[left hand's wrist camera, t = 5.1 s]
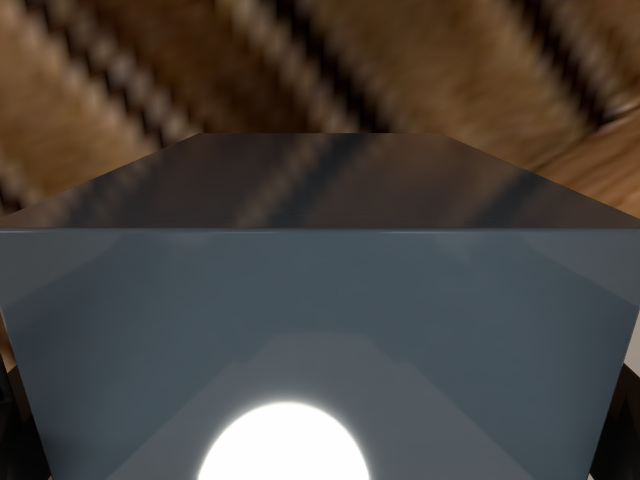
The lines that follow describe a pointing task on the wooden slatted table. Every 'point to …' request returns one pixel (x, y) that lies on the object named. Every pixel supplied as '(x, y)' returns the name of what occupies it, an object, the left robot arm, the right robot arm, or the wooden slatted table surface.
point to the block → (319, 313)
